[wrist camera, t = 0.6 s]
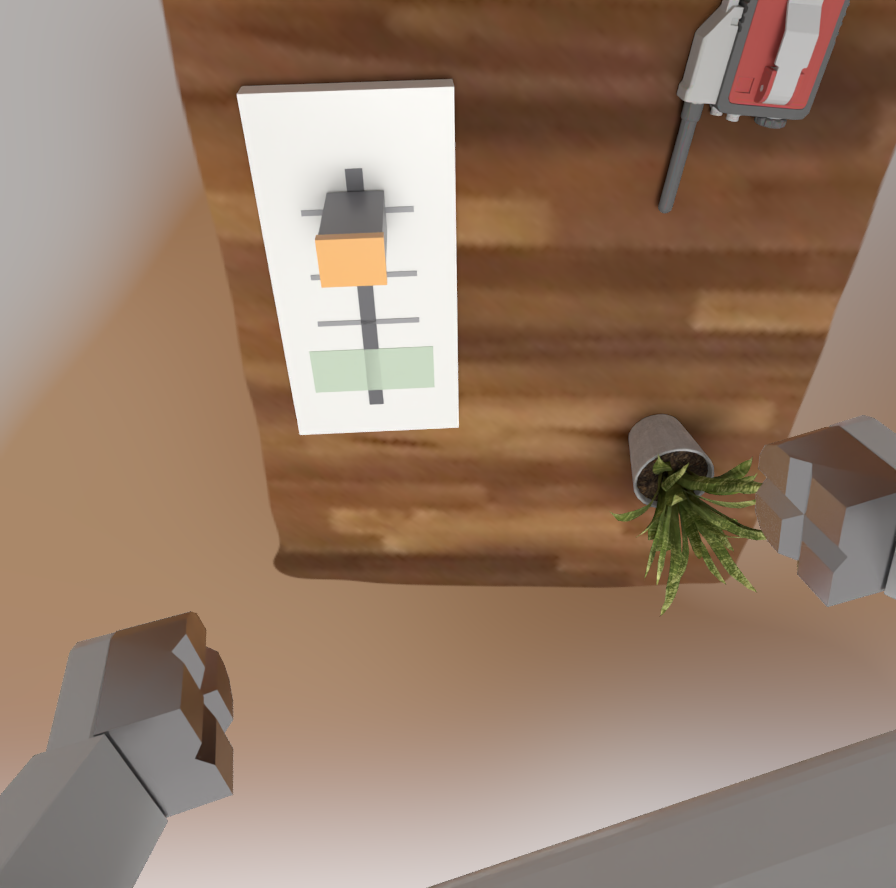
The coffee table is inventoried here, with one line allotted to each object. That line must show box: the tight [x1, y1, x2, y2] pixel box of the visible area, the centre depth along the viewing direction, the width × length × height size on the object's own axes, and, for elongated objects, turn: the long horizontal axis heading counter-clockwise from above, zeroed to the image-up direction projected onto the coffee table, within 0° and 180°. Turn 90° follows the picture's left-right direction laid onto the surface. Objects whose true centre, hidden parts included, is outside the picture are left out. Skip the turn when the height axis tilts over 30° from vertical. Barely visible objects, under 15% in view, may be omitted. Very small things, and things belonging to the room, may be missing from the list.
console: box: [237, 79, 459, 435], centre depth 58 cm, size 28×14×2 cm, turn 1°
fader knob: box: [315, 191, 387, 288], centre depth 50 cm, size 3×4×8 cm
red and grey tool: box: [658, 0, 850, 213], centre depth 49 cm, size 9×4×20 cm
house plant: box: [611, 414, 767, 615], centre depth 65 cm, size 14×14×16 cm
